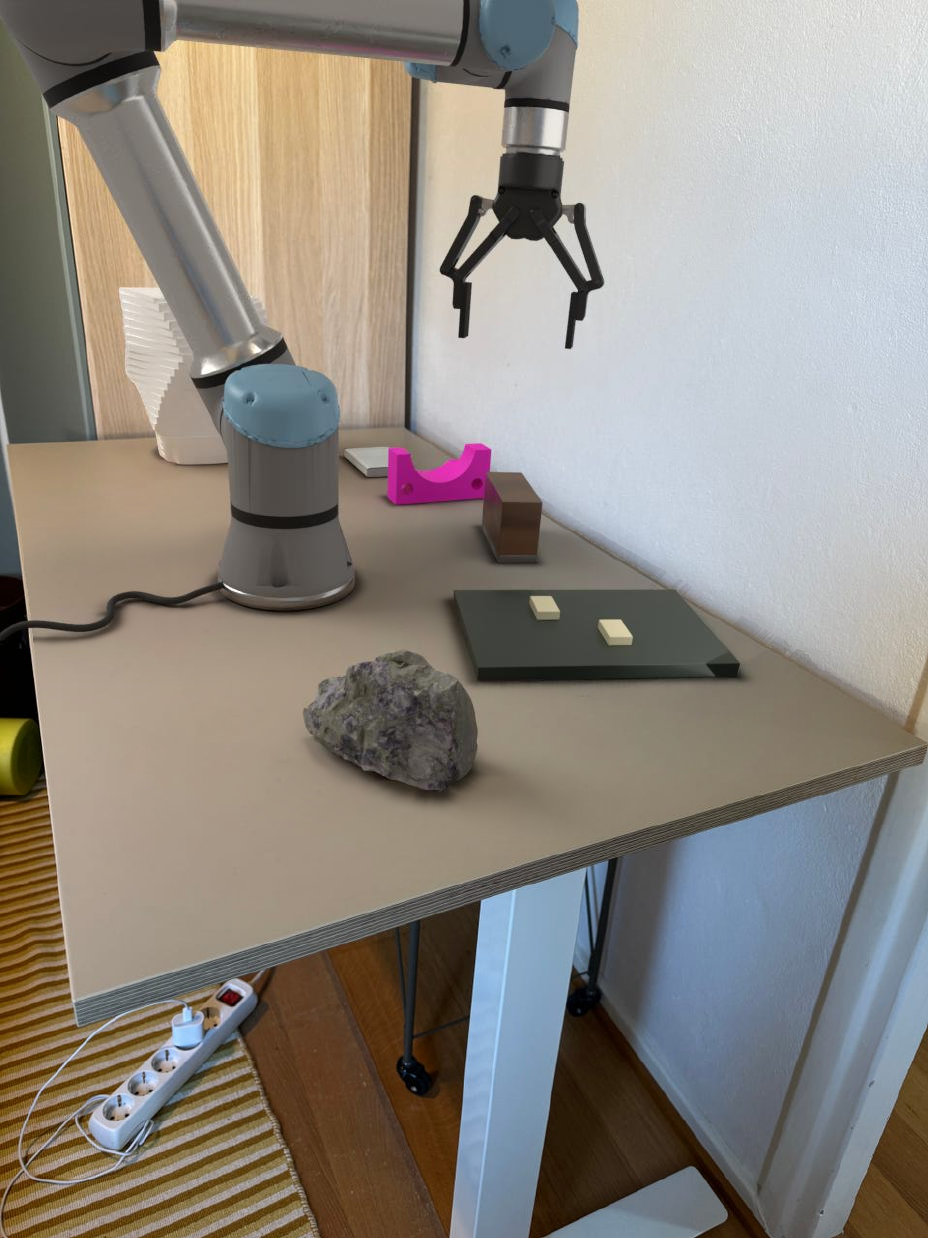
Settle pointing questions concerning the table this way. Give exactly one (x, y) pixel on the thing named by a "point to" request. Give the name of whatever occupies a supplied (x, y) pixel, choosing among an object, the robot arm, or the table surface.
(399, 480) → the toy block
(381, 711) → the mineral rock
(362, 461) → the hard drive
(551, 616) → the cream rectangular block
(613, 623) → the cream flat block
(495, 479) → the block
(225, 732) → the table surface
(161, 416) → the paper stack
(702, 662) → the slate board
